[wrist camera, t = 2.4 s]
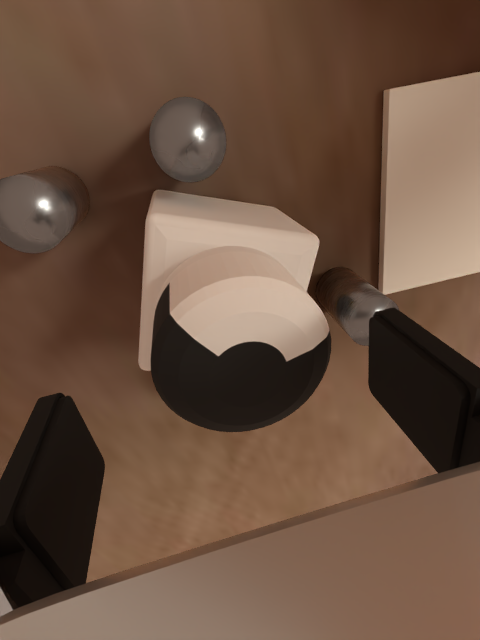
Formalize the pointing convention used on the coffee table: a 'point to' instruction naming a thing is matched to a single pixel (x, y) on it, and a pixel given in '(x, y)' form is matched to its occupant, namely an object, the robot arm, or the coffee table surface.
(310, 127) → the coffee table surface
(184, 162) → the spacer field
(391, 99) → the pad
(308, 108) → the coffee table surface
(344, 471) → the coffee table surface
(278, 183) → the coffee table surface
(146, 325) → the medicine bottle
